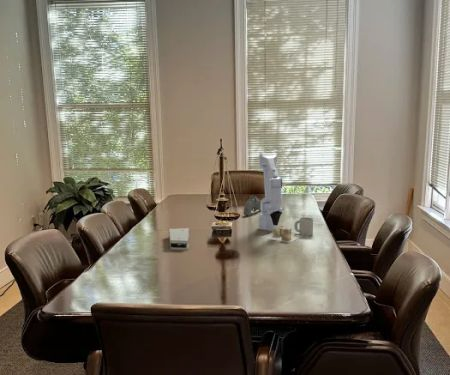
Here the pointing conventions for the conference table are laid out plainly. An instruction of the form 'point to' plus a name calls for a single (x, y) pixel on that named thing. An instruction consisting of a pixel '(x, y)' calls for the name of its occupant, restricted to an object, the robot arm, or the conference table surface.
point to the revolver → (252, 205)
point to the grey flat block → (179, 238)
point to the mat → (270, 236)
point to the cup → (304, 226)
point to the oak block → (286, 234)
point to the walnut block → (277, 231)
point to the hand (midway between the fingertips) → (275, 225)
